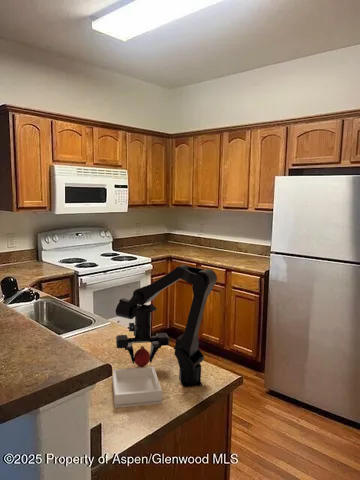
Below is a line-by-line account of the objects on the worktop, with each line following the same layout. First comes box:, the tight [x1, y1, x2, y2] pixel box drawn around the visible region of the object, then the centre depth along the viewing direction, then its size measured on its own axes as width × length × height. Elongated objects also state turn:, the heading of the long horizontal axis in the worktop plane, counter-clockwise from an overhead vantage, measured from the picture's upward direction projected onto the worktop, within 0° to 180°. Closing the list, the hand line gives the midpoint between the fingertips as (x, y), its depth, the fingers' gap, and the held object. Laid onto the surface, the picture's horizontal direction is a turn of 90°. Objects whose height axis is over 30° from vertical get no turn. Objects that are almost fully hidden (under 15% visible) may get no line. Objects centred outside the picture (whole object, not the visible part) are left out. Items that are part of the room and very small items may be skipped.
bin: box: [111, 366, 163, 409], centre depth 116 cm, size 14×16×4 cm
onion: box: [134, 345, 150, 368], centre depth 133 cm, size 6×6×8 cm
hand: (141, 362), depth 133 cm, fingers closed on onion, 6 cm apart
